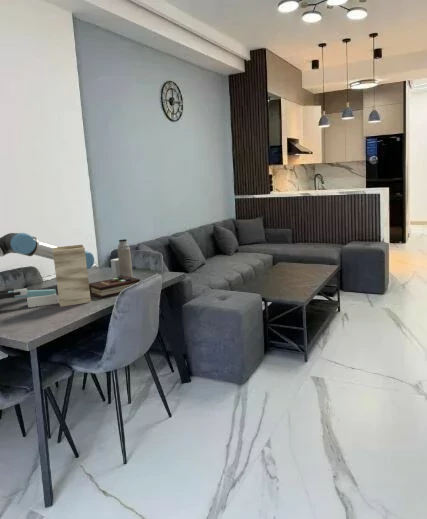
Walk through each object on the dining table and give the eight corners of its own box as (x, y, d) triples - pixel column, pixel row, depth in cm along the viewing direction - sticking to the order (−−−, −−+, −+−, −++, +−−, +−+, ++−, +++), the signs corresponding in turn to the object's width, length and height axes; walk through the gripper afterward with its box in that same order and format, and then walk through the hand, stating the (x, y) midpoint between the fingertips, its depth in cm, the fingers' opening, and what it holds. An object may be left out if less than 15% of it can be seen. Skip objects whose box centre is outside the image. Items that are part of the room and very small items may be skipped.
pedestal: (59, 302, 244) (52, 247, 238) (89, 298, 249) (82, 244, 244) (60, 306, 234) (52, 249, 229) (90, 302, 240) (84, 245, 235)
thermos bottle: (124, 280, 290) (120, 238, 286) (135, 281, 288) (131, 238, 283) (118, 283, 283) (114, 240, 278) (129, 283, 280) (125, 240, 276)
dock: (28, 304, 244) (27, 295, 244) (57, 300, 250) (55, 291, 249) (28, 307, 237) (27, 298, 236) (57, 303, 242) (56, 294, 242)
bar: (8, 296, 238) (8, 291, 237) (55, 294, 247) (55, 289, 246) (8, 297, 235) (7, 292, 235) (55, 295, 244) (55, 290, 243)
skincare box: (122, 278, 298) (120, 257, 295) (128, 279, 294) (125, 257, 291) (112, 281, 292) (109, 259, 289) (117, 282, 288) (115, 260, 285)
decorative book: (83, 282, 258) (128, 273, 276) (84, 295, 259) (130, 285, 277) (96, 287, 243) (144, 277, 261) (98, 300, 244) (145, 289, 262)
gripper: (-18, 301, 239) (28, 295, 248) (-22, 308, 225) (27, 301, 233) (-21, 288, 238) (26, 282, 246) (-25, 294, 223) (25, 287, 232)
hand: (27, 291), depth 240 cm, fingers closed on bar, 3 cm apart
